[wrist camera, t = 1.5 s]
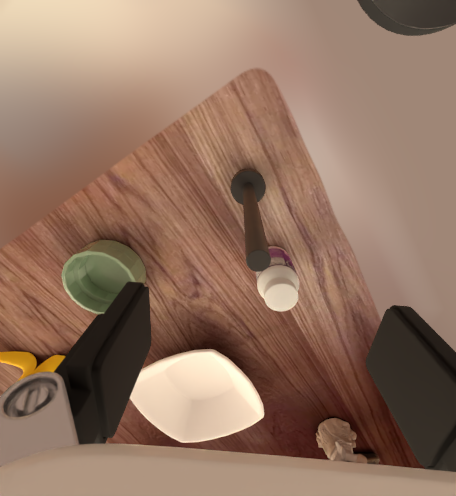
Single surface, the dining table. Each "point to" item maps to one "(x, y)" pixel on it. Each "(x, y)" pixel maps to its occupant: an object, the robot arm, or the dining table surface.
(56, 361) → the banana peel
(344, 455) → the figurine
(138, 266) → the green round dish
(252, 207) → the disc-footed rod
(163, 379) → the bowl
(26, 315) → the dining table surface
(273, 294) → the pill bottle
